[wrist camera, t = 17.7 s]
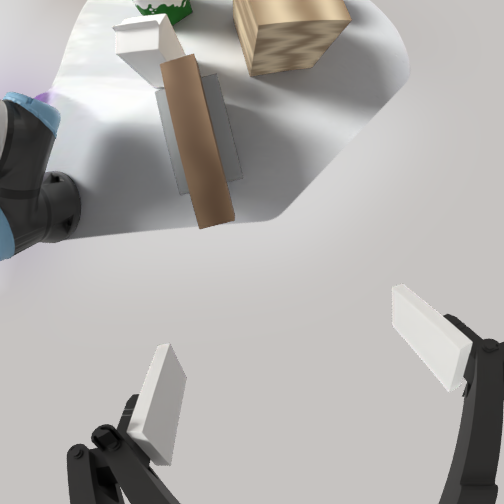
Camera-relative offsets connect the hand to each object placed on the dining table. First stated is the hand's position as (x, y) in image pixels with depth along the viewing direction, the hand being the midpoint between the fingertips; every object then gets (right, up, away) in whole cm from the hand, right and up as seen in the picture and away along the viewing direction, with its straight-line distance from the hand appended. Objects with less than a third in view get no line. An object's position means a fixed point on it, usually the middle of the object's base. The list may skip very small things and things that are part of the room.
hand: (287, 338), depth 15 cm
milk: (-17, +38, +28) cm, 50 cm away
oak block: (+2, +45, +27) cm, 52 cm away
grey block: (-9, +24, +33) cm, 42 cm away
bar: (-8, +18, +17) cm, 26 cm away
